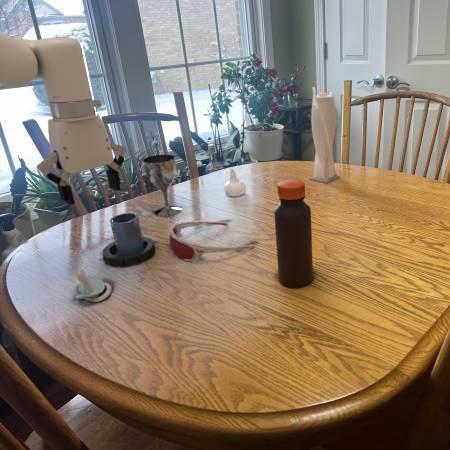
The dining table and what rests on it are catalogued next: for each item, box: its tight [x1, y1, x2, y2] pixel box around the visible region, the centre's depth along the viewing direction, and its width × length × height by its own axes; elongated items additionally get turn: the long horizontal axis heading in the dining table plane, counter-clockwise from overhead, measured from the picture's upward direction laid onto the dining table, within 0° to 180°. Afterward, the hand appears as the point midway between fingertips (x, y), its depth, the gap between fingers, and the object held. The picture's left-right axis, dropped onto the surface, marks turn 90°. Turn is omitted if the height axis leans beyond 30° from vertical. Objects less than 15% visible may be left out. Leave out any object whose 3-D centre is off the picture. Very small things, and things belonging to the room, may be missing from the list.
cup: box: [109, 212, 145, 256], centre depth 97 cm, size 6×6×9 cm
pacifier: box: [75, 266, 113, 303], centre depth 83 cm, size 7×6×6 cm
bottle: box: [273, 178, 314, 289], centre depth 82 cm, size 7×7×20 cm
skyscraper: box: [309, 86, 341, 184], centre depth 135 cm, size 8×8×28 cm
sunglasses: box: [168, 220, 256, 262], centre depth 101 cm, size 17×17×5 cm
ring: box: [102, 236, 156, 268], centre depth 98 cm, size 11×11×2 cm
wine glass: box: [142, 154, 182, 218], centre depth 117 cm, size 8×8×15 cm
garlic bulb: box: [224, 167, 247, 197], centre depth 129 cm, size 6×6×8 cm
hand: (93, 196), depth 88 cm, fingers open, 9 cm apart
